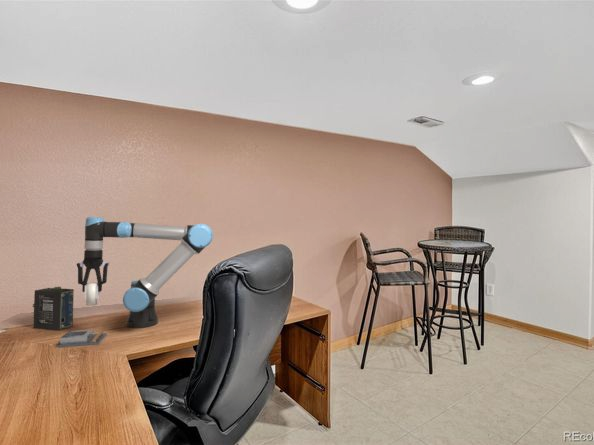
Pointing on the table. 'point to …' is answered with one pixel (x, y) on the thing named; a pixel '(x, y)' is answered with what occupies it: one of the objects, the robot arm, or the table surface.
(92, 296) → the white rounded cylinder
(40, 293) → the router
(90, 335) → the jig
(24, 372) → the table surface
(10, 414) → the table surface
